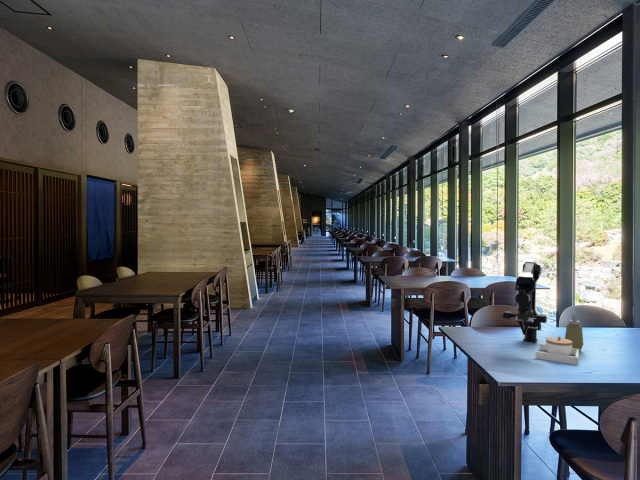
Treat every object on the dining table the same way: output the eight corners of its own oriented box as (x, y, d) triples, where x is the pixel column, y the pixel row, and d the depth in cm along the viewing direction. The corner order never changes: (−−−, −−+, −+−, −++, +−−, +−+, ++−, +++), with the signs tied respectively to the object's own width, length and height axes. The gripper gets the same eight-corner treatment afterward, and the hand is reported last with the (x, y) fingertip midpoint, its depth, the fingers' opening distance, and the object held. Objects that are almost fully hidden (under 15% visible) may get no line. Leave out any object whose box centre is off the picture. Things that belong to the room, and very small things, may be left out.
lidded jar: (571, 361, 192) (572, 340, 191) (544, 357, 197) (545, 337, 197) (572, 355, 201) (573, 335, 201) (546, 352, 206) (547, 332, 206)
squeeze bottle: (581, 348, 213) (582, 312, 213) (585, 353, 206) (586, 315, 205) (562, 347, 216) (563, 311, 215) (566, 351, 208) (567, 314, 208)
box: (539, 349, 211) (539, 343, 211) (579, 355, 202) (579, 348, 202) (535, 358, 197) (535, 351, 197) (577, 364, 188) (577, 357, 188)
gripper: (500, 302, 205) (500, 335, 205) (545, 306, 194) (544, 341, 195) (505, 299, 214) (504, 330, 214) (547, 303, 204) (546, 336, 204)
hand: (524, 334), depth 207 cm, fingers closed
